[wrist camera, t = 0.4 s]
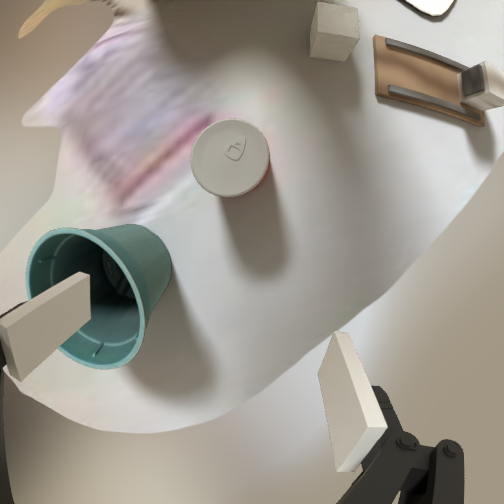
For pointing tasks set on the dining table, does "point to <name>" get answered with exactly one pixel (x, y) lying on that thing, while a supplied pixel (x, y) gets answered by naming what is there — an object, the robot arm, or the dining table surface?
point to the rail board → (436, 81)
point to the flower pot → (104, 286)
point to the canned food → (230, 158)
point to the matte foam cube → (333, 31)
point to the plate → (431, 6)
